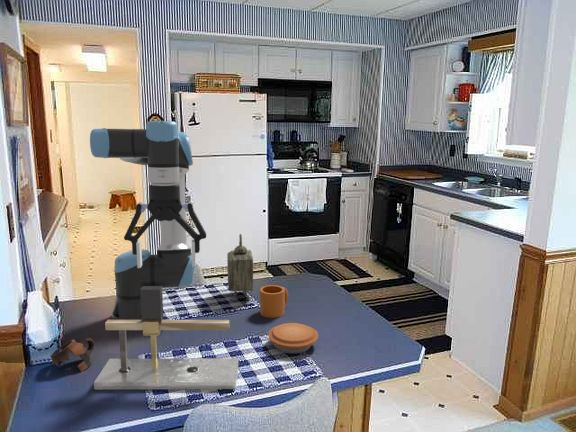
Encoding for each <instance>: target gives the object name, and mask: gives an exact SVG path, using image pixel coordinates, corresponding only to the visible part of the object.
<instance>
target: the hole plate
mask: <svg viewBox="0 0 576 432" xmlns="http://www.w3.org/2000/svg"><path fill="white" fill-rule="evenodd" d="M157 363H158V367H157V369H152V358H128V370H127V371H121V358H109V359H108V361H107V362H106V364H105V365H104V366H103V368H102V369H101V371H100V373H99V374H98V376H97V377H96V379H95V380H94V382H93V389H94V390H95V391H96V390H98V391H99V390H102V391H103V390H236V387H237V379H238V372H239V364H240V363H239V357H238V358H234V357H233V358H230V357H229V358H227V357H225V358H208V357H207V358H202V357H201V358H199V357H198V358H184V357H183V358H177V357H176V358H157Z"/></svg>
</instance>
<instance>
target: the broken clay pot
mask: <svg viewBox="0 0 576 432" xmlns="http://www.w3.org/2000/svg"><path fill="white" fill-rule="evenodd" d="M87 344H88V345H87ZM86 345H87V346H88V347H86ZM59 348H60V351H59V350H58V349H56V350H54V351H52V353H51V354H50V359H52V361H51V365H55V366H58V367H59V362H61V363H63V362H65V361H69V360H70V352H71V353H72V354H73V355H74V356H76V357H79V358H80V359H81V360H82V361H81V362H79V364H78V365H77V368H78V369H79V371H80V372H84V371H85V370H87V368H89V367H90V366H91V364H92V360H91V353H92V352H93V351H94V349H95V341H94V340H93V339H92V338H91V337H87V338H84V339H83V340H80V341H78V342H77V341H76V340H75V339H70V340H69V341H67V342H65V343H64V344H62V345H60V346H59Z"/></svg>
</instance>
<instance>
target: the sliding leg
mask: <svg viewBox="0 0 576 432" xmlns="http://www.w3.org/2000/svg"><path fill="white" fill-rule="evenodd" d="M163 297H164V296H163V288H162V286H142V288H141V289H140V299H141V318H142V322H143V330H142V336H143V337H144V336H146V337H147V336H148V337H149V336H150V351H151V352H150V354H151V359H152V369H157V367H158V363H157V359H158V346H157V345H158V344H157V342H158V341H157V337H159V336H160V334H161V331H162V330H160V329H159V322H162V320H164V303H163V302H164V300H163Z"/></svg>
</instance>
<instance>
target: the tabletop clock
mask: <svg viewBox="0 0 576 432" xmlns="http://www.w3.org/2000/svg"><path fill="white" fill-rule="evenodd" d="M242 236H243V235H242V233H239V236H238V237H239V242H238V243H239V244H238V245H237V246H235V248H234V249H233V250H230V251H229V252H227V256H226V259H227V285H228V286H227V287H228V290H230V291H232V292H233V293H232V296H233V297H237V296H238V293H237V292H243V294H244V295H245V301H247V302H249V301H250V300H251V297H250V296H248V293H247V292H250V291H253V290H254V257H253V254H252V250H251V249H247V247H246V246H244V245H243V237H242Z"/></svg>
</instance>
